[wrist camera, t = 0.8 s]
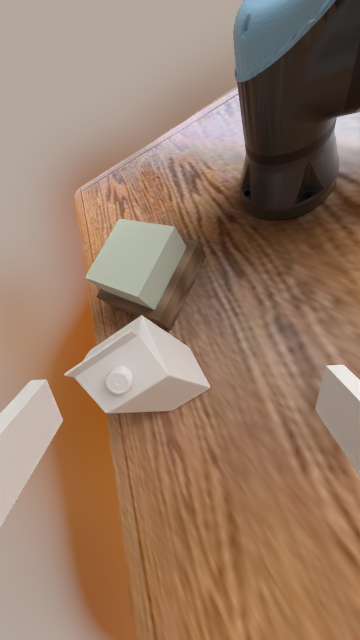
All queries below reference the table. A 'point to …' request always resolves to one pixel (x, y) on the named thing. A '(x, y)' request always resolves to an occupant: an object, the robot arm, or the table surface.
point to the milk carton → (140, 371)
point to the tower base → (173, 292)
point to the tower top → (138, 261)
